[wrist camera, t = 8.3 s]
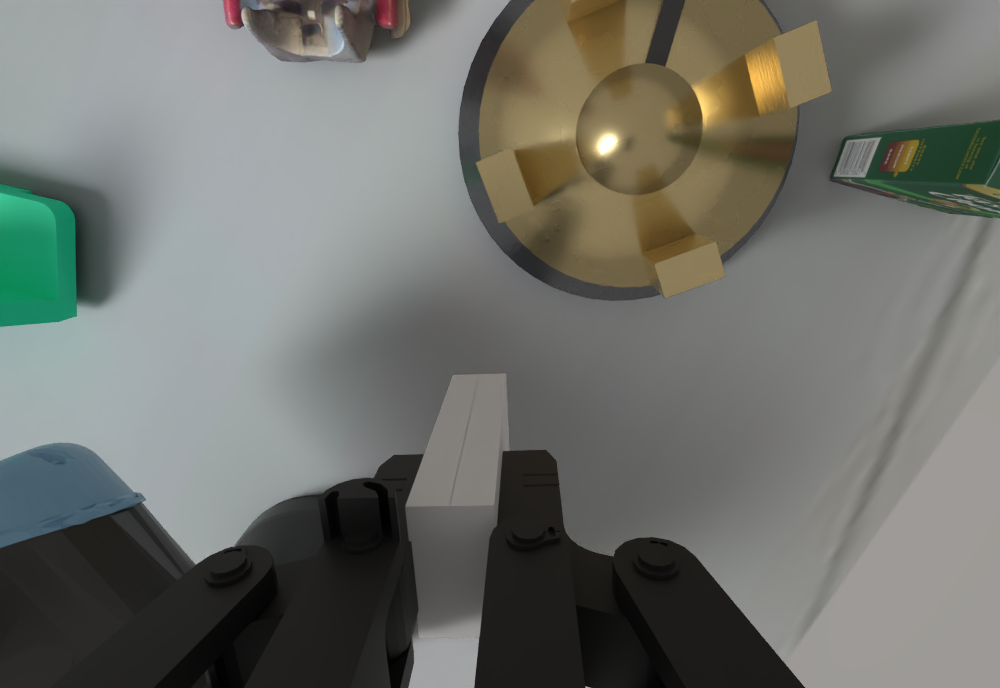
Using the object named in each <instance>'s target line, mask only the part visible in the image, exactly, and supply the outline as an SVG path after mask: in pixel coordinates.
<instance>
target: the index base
mask: <svg viewBox="0 0 1000 688" xmlns="http://www.w3.org/2000/svg"><path fill="white" fill-rule="evenodd" d="M534 1H535V0H511V1H510V2H509V3H508V4H507V6H506V7H505V8H504V9H503V11H502V12H501V13H500V14H499V16H498V17H497V18H496V19H495V21H494V22H493V24H492V25H491V27H490V29H489V30H488V32H487V34H486V35H485V37H484V39H483V40H482V42H481V44H480V46H479V48H478V51H477V53H476V55H475V57H474V60H473V62H472V64H471V67H470V70H469V73H468V77H467V80H466V83H465V86H464V91H463V96H462V102H461V107H460V117H459V133H458V134H459V150H460V160H461V165H462V170H463V176H464V180H465V183H466V186H467V189H468V192H469V196H470V199H471V201H472V203H473V205H474V207H475V210H476V212H477V214H478V216H479V218H480V220H481V221H482V223H483V225H484V226H485V228H486V229H487V231H488V233H489V234H490V236H491V237H492V238H493V239H494V241H495V242H496V243H497V244H498V246H499V247H500V248H501V249H502V250H503V252H504V253H505V254H507V255H508V256H509V257H510V258H511V259H512V260H513V261H514V262H515V263H516V264H517V265H518V266H520V267H521V268H522V269H524V270H525V271H527V272H528V273H529V274H531V275H532V276H534V277H535V278H537V279H539V280H541V281H543V282H544V283H546V284H548V285H550V286H552V287H554V288H557V289H560V290H562V291H565V292H568V293H570V294H574V295H578V296H582V297H587V298H591V299H601V300H611V301H612V300H634V299H641V298H647V297H653V296H657V295H660V293H659V292H658V291H657V290H656V289H655V288H654V287H653V286H652V285H648V286H642V287H613V286H602V285H598V284H594V283H589V282H585V281H582V280H579V279H576V278H574V277H571V276H568V275H566V274H564V273H562V272H560V271H558V270H557V269H555V268H553V267H551V266H549V265H548V264H546V263H545V262H544V261H542V260H541V259H539V258H538V257H537V256H535V255H534V254H533V253H532V252H531V251H530V250H529V249H528V248H527V247H525V246H524V245H523V244H522V243H521V242H520V241H519V239H518V238H517V237H516V236H515V235H514V233H513V232H512V231H511V230H510V228H509V227H508V226H507V224H506V222H505V221H504V222H502V223H499V222H498V219H497V217H496V214H495V211H494V209H493V206H492V204H491V201H490V198H489V196H488V193H487V191H486V188H485V186H484V183H483V180H482V178H481V175H480V173H479V170H478V167H477V165H476V162H478V161H481V156H480V146H479V119H480V107H481V102H482V97H483V92H484V87H485V84H486V81H487V77H488V74H489V71H490V68H491V65H492V63H493V61H494V59H495V57H496V54H497V52H498V50H499V48H500V46H501V44H502V42H503V41H504V39H505V37H506V36H507V34H508V33H509V31H510V29H511V28H512V26H513V25H514V23H515V22H516V21H517V20H518V19H519V17H520V16H521V15H522V14H523V12H524V11H525V10H526V9H527V7H528V6H529V5H530V4H532V3H533V2H534ZM759 1H760V2H761V4H762V5H763V6H764V7H765V8H766V10H767V11H768V13H769V14H770V16H771V17H772V19H773V20H774V22H775V23H776V25H777V27H778V29H779V31H780V33H781V35H782V34H783V32H782V30H781V28H780V26H779V24H778V22H777V20H776V19H775V17H774V16H773V14H772V13H771V11H770V9H769V8H768V6H767V5H766V3H765V2H764V1H763V0H759ZM797 112H798V114H797V123H796V133H795V139H794V143H793V148H792V152H791V157H790V160H789V162H788V165H787V168H786V171H785V174H784V176H783V179H782V181H781V183H780V185H779V187H778V189H777V191H776V193H775V195H774V197H773V199H772V200H771V202H770V203H769V205H768V206H767V208H766V210H765V211H764V213H763V214H762V216H761V217H760V218H759V219H758V221H757V222H756V223H755V224H754V225H753V227H752V228H751V229H750V230H749V231H748V233H747V234H746V235H744V236H743V237H742V238H741V239H740V240H739V241H738V242H737V243H736V244H735V245H734V246H733V247H732V248H730V249H729V250H728V251H726V252H725V253H724V254H722V255H721V256H720V258H721V262H722V263H724V262H725V261H726V260H728V259H729V258H730V257H731V256H732V255H733V254H734V253H735V252H737V251H738V250H739V249H740V248H741V247H742V246H743V245H744V244H745V243H746V242H747V241H748V239H749V238H750V237H751V236H752V235H753V233H754V232H755V231H756V230H757V229H758V228H759V226H760V225H761V223H762V222H763V220H764V219H765V217H766V216H767V214H768V213H769V211H770V210H771V208H772V207H773V205H774V203H775V201H776V199H777V197H778V195H779V193H780V191H781V189H782V187H783V185H784V182H785V179H786V177H787V174H788V171H789V168H790V166H791V163H792V158H793V154H794V150H795V145H796V141H797V133H798V124H799V105H797Z"/></svg>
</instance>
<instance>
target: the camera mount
mask: <svg viewBox="0 0 1000 688" xmlns="http://www.w3.org/2000/svg"><path fill="white" fill-rule="evenodd" d="M75 316H77V301H76V241H75V217H74V214H73V212H72V210H71V209H70V207H69V206H68V205H66V204H65V203H63V202H61V201H58V200H54V199H50V198H45V197H41V196H37V195H32V191H29V190H25V189H20V188H16V187H12V186H7V185H3V184H0V327H2V326H14V325H26V324H38V323H50V322H59V321H63V320H66V319H69V318H72V317H75Z"/></svg>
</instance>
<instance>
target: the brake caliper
mask: <svg viewBox="0 0 1000 688" xmlns="http://www.w3.org/2000/svg"><path fill="white" fill-rule="evenodd" d="M223 6H224V12H225V19H226V23H227V25H228V26H229V27H230V28H232V29H239V28H241V27H242V26H245V27H246V28H247V30H249V31H250V32H251V34H252V35H253V36H254V37H255V38H256V39H257V40H258V41H259V42H260V43H261V44H263V45H264V46H265V48H266V49H267V50H268V52H269V53H270V54H272V55H273V56H275V57H276V58H277V59H278V60H280V61H287V62H310V61H319V60H331V61H340V62H356V63H362V62H364V61H365V60H366V56H367V53H368V50H369V47H370V44H371V41H372V38H373V33H374V26H375V24H376V25H378V26H379V27H381V28H385V29H390V33H391V37H392V38H400V37H402V36H403V35H404V33H405V32H406V31H407V30H408V28H409V27H410V24H411V21H412V18H411V15H410V12H409V8H408V0H223Z"/></svg>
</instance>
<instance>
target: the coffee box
mask: <svg viewBox="0 0 1000 688" xmlns="http://www.w3.org/2000/svg"><path fill="white" fill-rule="evenodd" d="M829 180H830V181H833V182H836V183H840V184H843V185H847V186H851V187H854V188H858V189H861V190H864V191H867V192H871V193H875V194H878V195H882V196H886V197H890V198H893V199H897V200H901V201H905V202H908V203H912V204H916V205H919V206H922V207H926V208H932V209H935V210H939V211H942V212H946V213H950V214H962V215H973V216H982V217H989V218H994V217H995V218H1000V120H994V121H985V122H975V123H965V124H956V125H947V126H937V127H927V128H918V129H908V130H897V131H888V132H879V133H870V134H862V135H855V136H848V137H845V138H844V141H843V144H842V147H841V150H840V152H839V155H838V158H837V161H836V164H835V166H834V169H833V171H832V174H831V176H830V179H829Z"/></svg>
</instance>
